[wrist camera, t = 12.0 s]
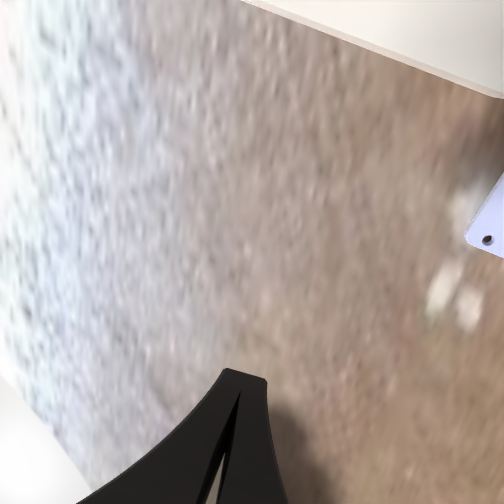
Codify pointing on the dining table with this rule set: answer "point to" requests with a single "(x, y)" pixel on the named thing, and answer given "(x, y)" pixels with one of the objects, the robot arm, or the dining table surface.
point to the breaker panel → (415, 33)
